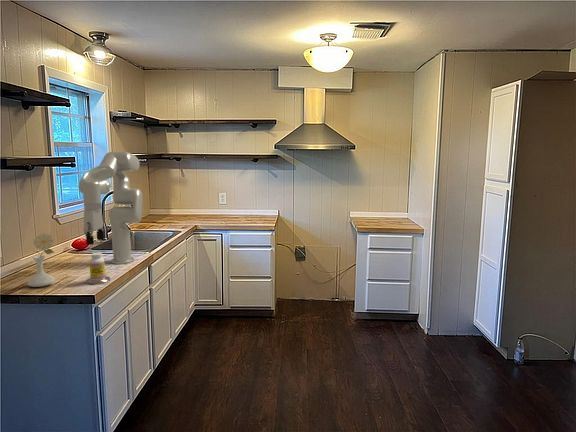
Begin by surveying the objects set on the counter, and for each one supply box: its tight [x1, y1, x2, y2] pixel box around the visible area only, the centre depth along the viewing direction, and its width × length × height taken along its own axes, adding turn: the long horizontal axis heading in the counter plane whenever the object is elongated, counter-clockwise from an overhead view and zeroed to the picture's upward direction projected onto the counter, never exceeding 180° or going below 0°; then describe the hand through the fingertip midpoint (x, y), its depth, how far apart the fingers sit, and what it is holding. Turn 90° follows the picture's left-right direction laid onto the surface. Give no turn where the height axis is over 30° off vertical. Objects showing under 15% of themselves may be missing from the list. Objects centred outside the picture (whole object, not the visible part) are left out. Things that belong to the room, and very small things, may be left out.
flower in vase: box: [26, 233, 56, 288], centre depth 195 cm, size 13×11×25 cm
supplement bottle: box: [89, 252, 106, 281], centre depth 203 cm, size 7×7×13 cm
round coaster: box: [85, 275, 111, 286], centre depth 204 cm, size 11×11×1 cm
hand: (95, 241), depth 201 cm, fingers open, 9 cm apart
